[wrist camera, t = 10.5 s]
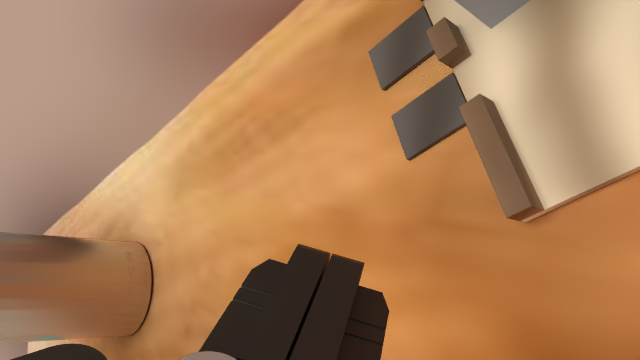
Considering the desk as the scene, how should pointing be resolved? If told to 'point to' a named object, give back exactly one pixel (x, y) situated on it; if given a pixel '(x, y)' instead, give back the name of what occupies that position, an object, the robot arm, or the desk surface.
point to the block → (491, 9)
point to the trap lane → (527, 94)
